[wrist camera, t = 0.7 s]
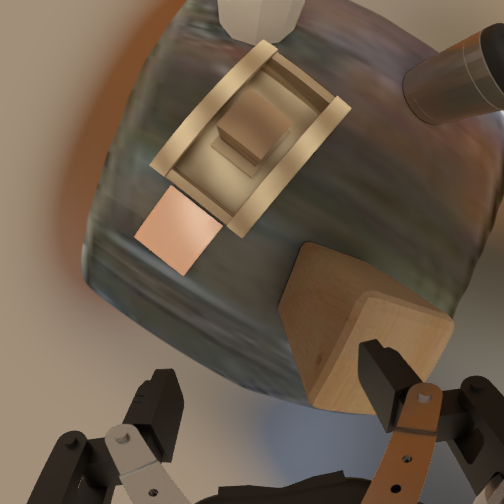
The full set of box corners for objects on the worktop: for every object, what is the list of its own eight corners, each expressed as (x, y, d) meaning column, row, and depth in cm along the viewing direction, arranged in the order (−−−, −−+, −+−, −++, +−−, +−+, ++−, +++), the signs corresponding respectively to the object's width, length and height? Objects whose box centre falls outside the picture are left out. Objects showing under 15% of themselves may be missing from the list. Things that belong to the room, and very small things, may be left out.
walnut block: (246, 110, 31) (249, 87, 23) (280, 137, 32) (293, 122, 24) (220, 139, 32) (215, 124, 24) (255, 166, 32) (261, 159, 25)
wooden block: (274, 309, 39) (306, 412, 19) (302, 237, 37) (368, 291, 17) (340, 327, 40) (404, 420, 20) (368, 262, 38) (462, 322, 19)
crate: (258, 62, 32) (263, 39, 25) (332, 121, 34) (351, 108, 27) (165, 168, 34) (149, 164, 28) (241, 229, 36) (241, 238, 30)
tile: (172, 185, 35) (171, 185, 34) (223, 225, 36) (222, 226, 36) (135, 235, 36) (134, 236, 35) (184, 274, 37) (183, 276, 37)
